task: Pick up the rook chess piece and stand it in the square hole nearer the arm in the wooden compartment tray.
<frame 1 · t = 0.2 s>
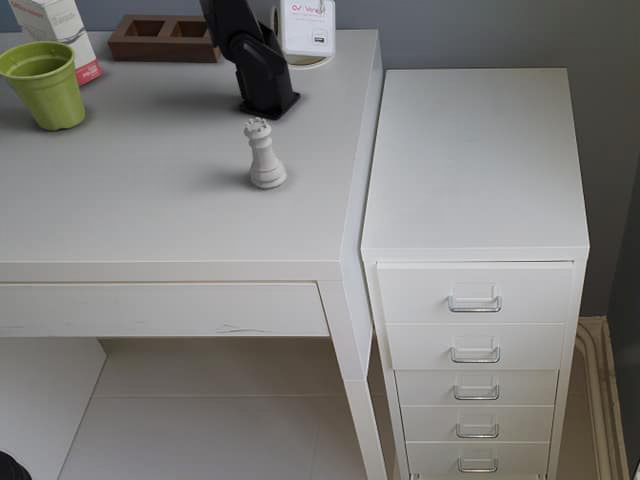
plant pot: (63, 120, 100), on the table
wooden compartment tray: (173, 47, 113), on the table
rook chess piece: (270, 180, 92), on the table
ink box: (72, 74, 107), on the table
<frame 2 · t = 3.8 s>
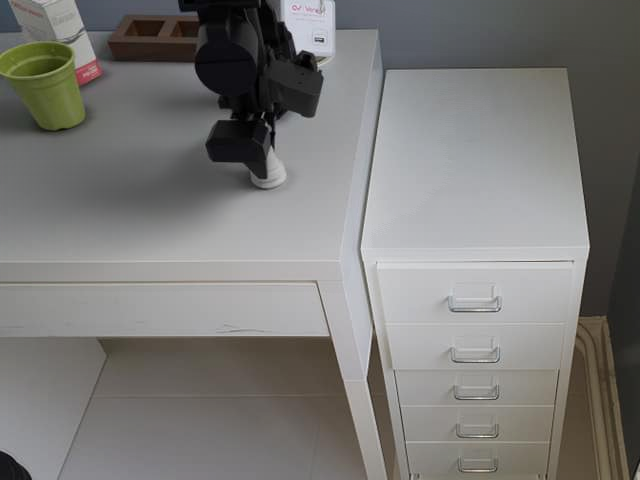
hand: (266, 167, 91), 2 cm above the table, tool pointing down, fingers closed on rook chess piece, 4 cm apart
rook chess piece: (270, 180, 92), on the table, touching gripper
everything else where it was.
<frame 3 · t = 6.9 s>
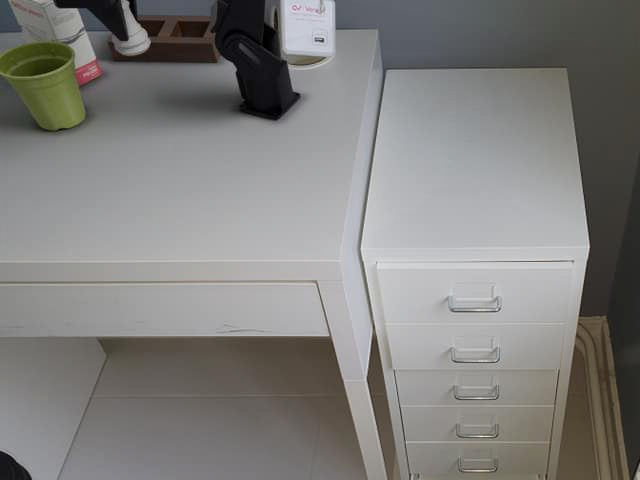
hand: (129, 32, 92), 12 cm above the table, tool pointing down, fingers closed on rook chess piece, 4 cm apart
rook chess piece: (134, 49, 93), point 10 cm above the table, touching gripper
everything else where it was.
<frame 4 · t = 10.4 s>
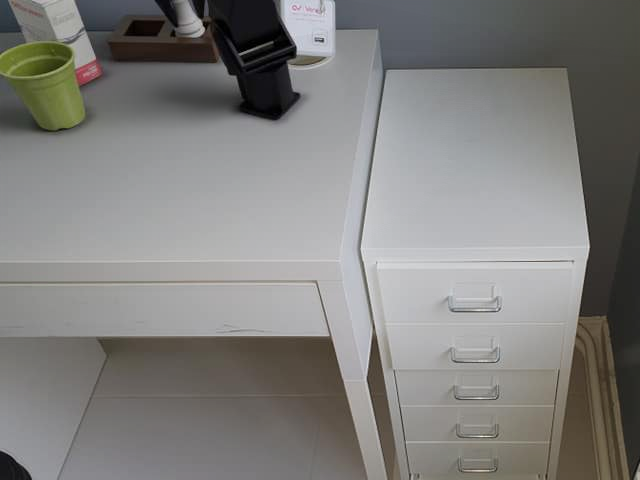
hand: (188, 22, 109), 4 cm above the table, tool pointing down, fingers closed on rook chess piece, 4 cm apart
rook chess piece: (191, 35, 111), point 2 cm above the table, touching gripper
everything else where it was.
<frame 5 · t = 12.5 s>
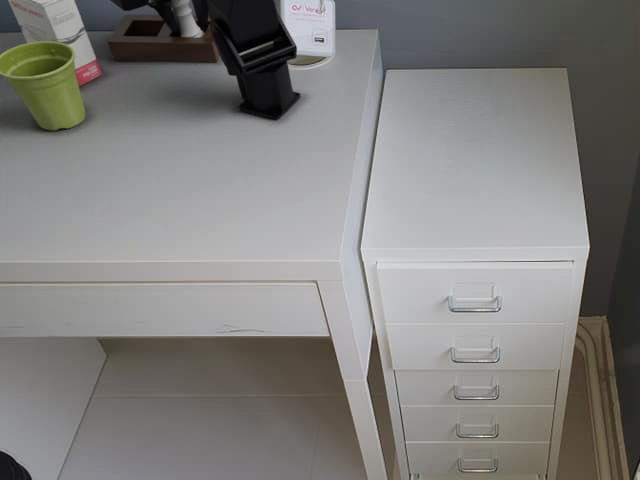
hand: (191, 34, 111), 2 cm above the table, tool pointing down, fingers closed on rook chess piece, 4 cm apart
rook chess piece: (194, 47, 113), resting in wooden compartment tray, touching gripper
everything else where it was.
when the fingers open (4 cm above the table, at t = 17.3 s): rook chess piece drops 2 cm, resting in wooden compartment tray.
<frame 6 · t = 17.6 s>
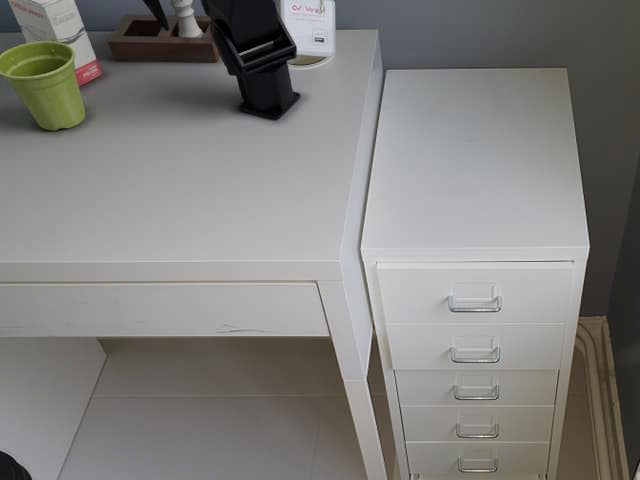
hand: (187, 22, 110), 4 cm above the table, tool pointing down, fingers open, 7 cm apart
rook chess piece: (195, 49, 113), resting in wooden compartment tray
everything else where it was.
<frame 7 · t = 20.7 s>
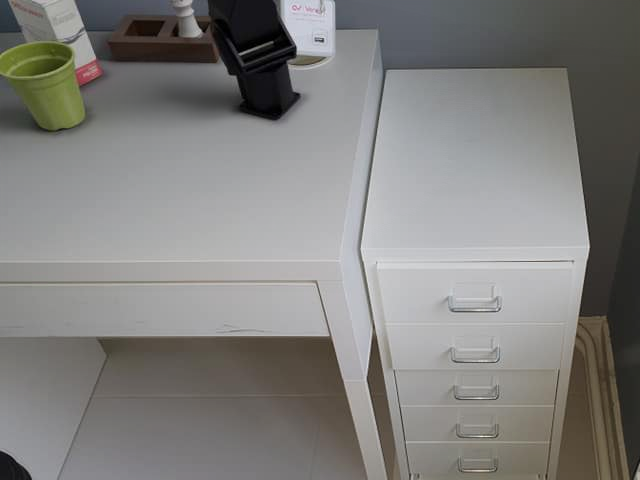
nothing on the table moved.
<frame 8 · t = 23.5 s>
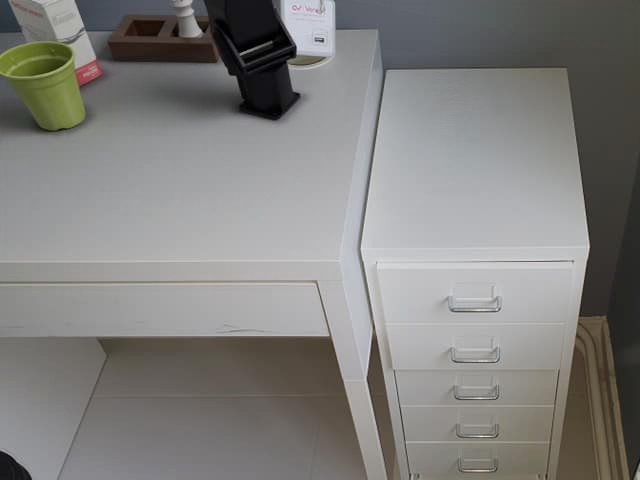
nothing on the table moved.
at the end: rook chess piece 0.1 cm from the target spot in the wooden compartment tray, point 0.0 cm above the wooden compartment tray's base; rook chess piece tilted 0°; the gripper is holding nothing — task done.
